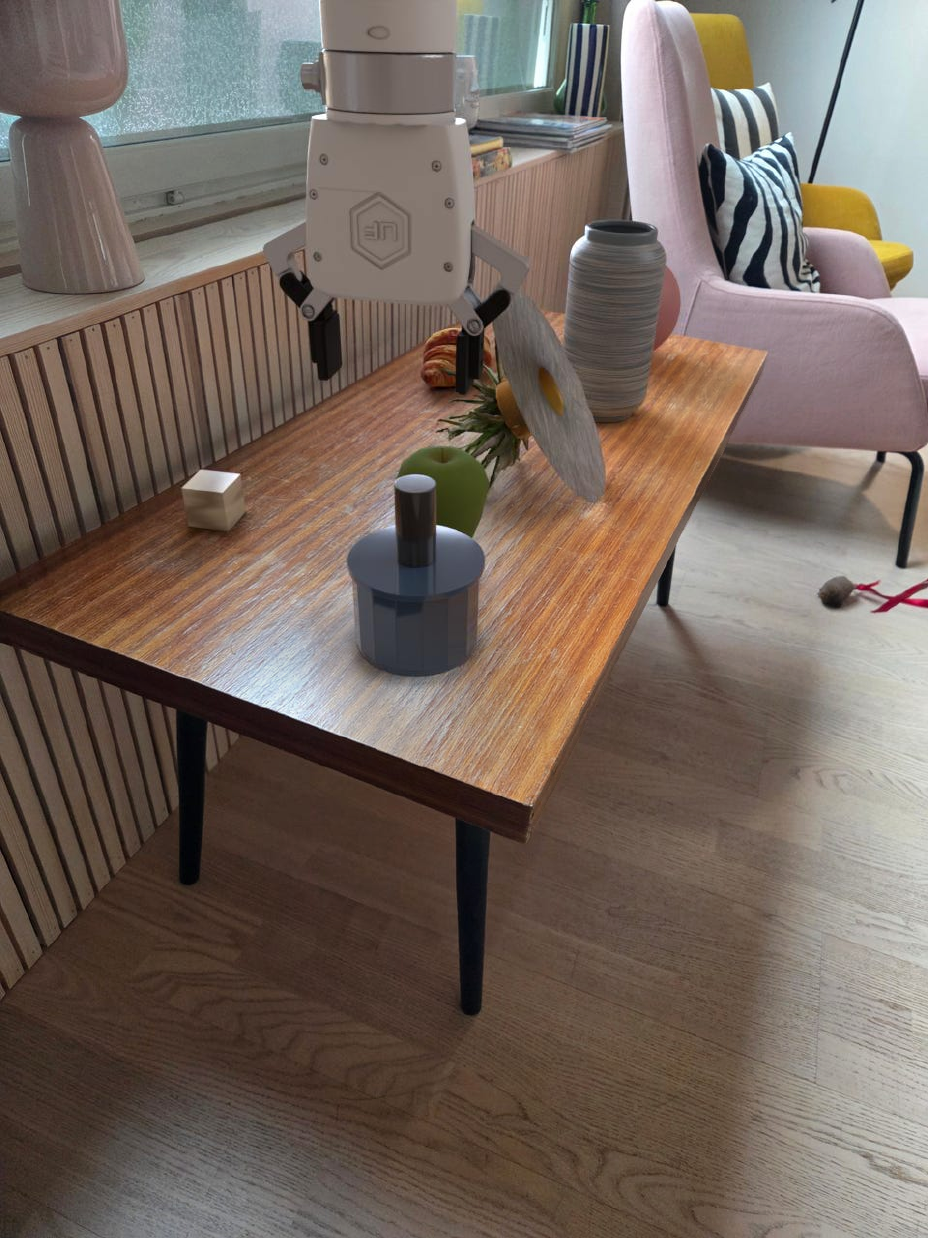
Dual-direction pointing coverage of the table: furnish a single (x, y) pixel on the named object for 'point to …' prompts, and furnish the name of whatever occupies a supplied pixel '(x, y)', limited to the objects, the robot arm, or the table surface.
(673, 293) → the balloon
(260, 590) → the table surface
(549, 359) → the grey leafy disc
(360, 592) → the pot
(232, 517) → the block
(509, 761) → the table surface
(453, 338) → the croissant
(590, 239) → the vase
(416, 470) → the apple
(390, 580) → the lid
